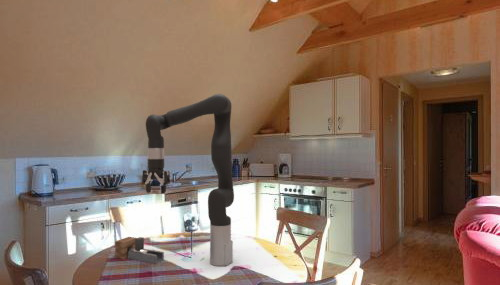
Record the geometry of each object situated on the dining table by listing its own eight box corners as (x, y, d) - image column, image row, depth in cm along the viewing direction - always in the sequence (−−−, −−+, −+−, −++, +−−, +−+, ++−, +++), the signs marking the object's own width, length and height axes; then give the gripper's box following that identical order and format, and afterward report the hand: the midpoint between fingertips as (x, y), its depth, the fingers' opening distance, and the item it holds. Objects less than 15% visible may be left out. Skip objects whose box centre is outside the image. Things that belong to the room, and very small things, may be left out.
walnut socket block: (136, 253, 157) (136, 237, 157) (123, 259, 149) (123, 242, 149) (128, 252, 159) (128, 236, 159) (115, 257, 151) (115, 241, 151)
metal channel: (163, 259, 148) (163, 252, 148) (155, 263, 143) (155, 255, 143) (136, 254, 155) (136, 247, 155) (127, 258, 150) (128, 250, 150)
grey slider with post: (148, 255, 150) (148, 238, 150) (143, 257, 147) (144, 240, 148) (127, 251, 156) (127, 235, 156) (122, 253, 153) (122, 236, 153)
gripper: (173, 158, 151) (173, 192, 151) (149, 157, 157) (149, 191, 157) (162, 158, 145) (162, 195, 144) (138, 158, 151) (138, 193, 150)
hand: (155, 192), depth 151 cm, fingers open, 8 cm apart
